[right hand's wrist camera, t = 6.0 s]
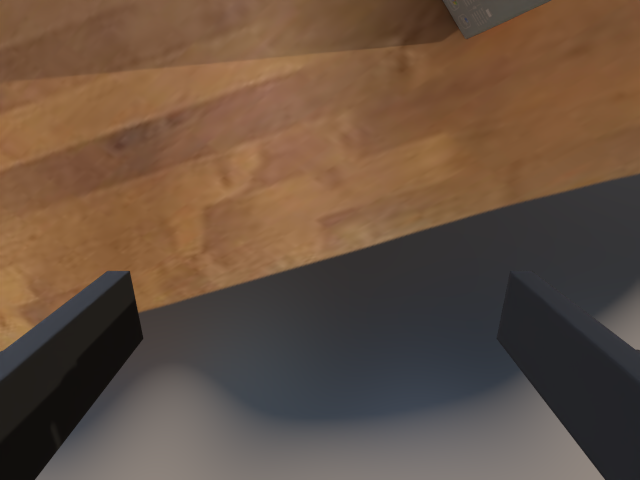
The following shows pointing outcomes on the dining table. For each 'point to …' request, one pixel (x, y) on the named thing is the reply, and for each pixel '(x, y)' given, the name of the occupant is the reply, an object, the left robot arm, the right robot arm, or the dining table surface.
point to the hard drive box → (486, 13)
